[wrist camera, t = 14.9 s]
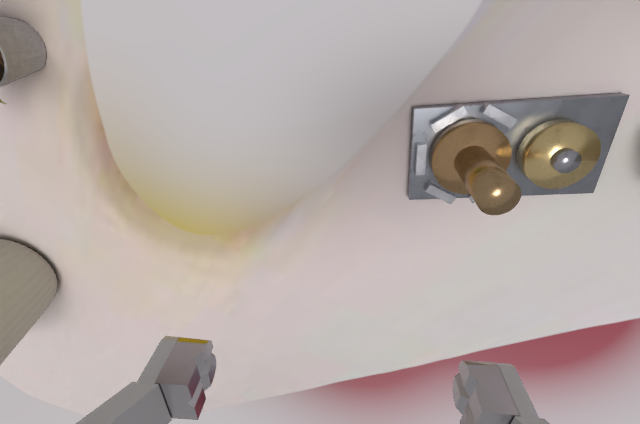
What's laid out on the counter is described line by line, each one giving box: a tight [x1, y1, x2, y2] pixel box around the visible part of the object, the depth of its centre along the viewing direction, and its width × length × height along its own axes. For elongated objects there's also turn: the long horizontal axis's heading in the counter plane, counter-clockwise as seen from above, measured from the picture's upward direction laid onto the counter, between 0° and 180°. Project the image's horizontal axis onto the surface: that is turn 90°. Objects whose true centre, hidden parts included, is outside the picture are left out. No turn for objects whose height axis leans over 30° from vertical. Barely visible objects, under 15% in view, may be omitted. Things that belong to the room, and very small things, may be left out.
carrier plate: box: [408, 93, 629, 204], centre depth 36 cm, size 12×21×5 cm, turn 95°
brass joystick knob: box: [429, 119, 521, 215], centre depth 33 cm, size 8×8×10 cm
